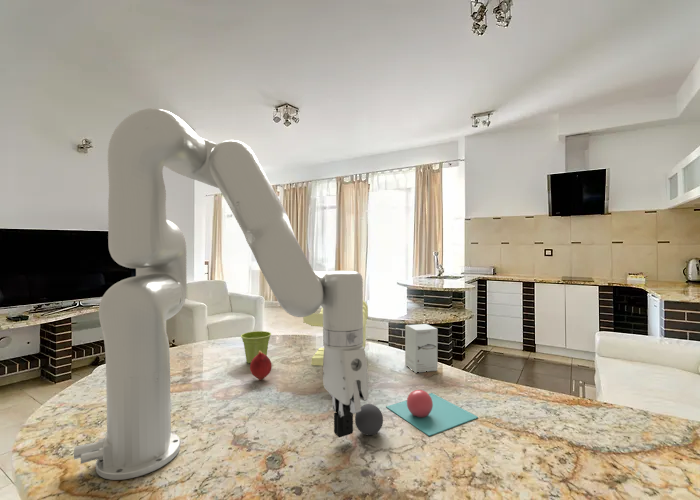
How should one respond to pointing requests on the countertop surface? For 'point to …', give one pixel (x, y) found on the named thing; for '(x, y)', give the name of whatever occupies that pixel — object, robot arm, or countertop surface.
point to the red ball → (419, 403)
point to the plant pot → (255, 343)
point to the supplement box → (421, 347)
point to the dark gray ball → (369, 419)
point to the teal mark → (434, 416)
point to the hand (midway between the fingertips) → (343, 433)
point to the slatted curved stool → (317, 320)
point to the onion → (260, 366)
